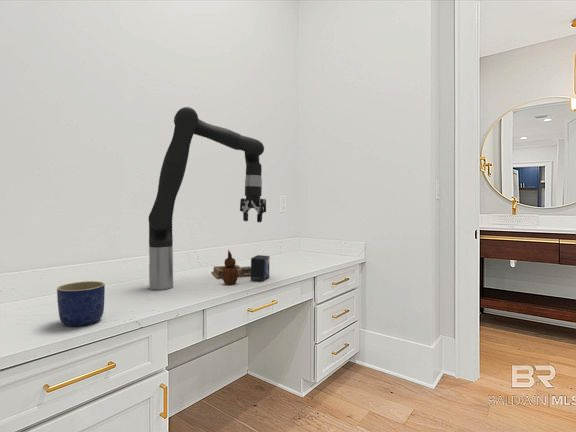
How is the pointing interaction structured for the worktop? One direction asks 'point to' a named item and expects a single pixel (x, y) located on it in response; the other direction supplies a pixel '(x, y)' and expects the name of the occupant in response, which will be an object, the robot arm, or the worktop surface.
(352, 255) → the worktop surface
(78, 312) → the planter
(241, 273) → the wooden tray
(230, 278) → the wooden figurine
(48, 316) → the worktop surface
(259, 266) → the small box
